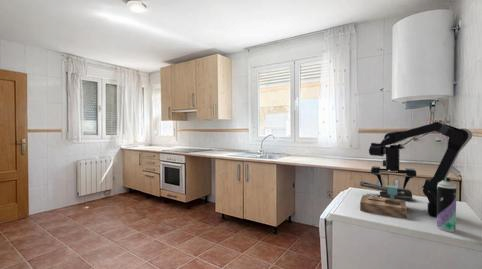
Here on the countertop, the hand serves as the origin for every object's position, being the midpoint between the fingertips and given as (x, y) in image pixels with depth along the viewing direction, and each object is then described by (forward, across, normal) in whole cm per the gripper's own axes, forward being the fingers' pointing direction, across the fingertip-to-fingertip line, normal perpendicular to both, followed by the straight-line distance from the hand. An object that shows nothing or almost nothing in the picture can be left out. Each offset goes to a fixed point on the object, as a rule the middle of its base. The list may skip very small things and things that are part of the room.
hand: (392, 188), depth 116 cm
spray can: (+9, -17, +22) cm, 29 cm away
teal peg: (+8, 0, 0) cm, 8 cm away
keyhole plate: (+8, +4, +10) cm, 14 cm away
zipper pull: (+9, +4, -13) cm, 16 cm away
